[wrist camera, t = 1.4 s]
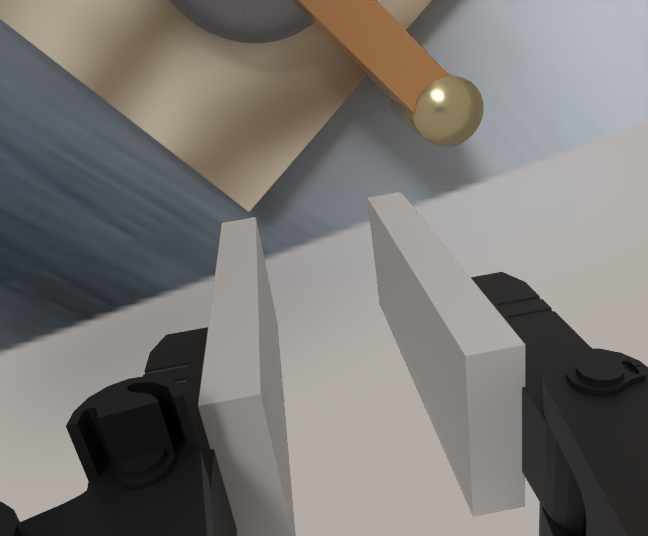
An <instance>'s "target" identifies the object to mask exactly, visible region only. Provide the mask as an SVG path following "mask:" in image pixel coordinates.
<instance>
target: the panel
mask: <svg viewBox="0 0 648 536" xmlns="http://www.w3.org/2000/svg"><path fill="white" fill-rule="evenodd" d="M377 1H378V2H379V3H380V4H381V5H382V6H383V7H384V8H385V9H386V10H387V11H388V12H389V13H390V14H391V15H392V16H393V17H394V18H395V19H396V21H397V22H398V23H399V24H400V25H401V26H402V27H403V28H404V29H405V30H407V28H408V27H409V26H410V25H411V24H412V23H413V22H414V20H415V19H416V18H417V17H418V16H419V15H420V13H421V12H422V11H423V10H424V9H425V8H426V6H427V5H428V4H429V3H430V2H431V1H432V0H377ZM0 19H1V20H2V21H3V22H5V23H6V24H7V25H9V26H10V27H11V28H12V29H14V30H15V31H16V32H18V33H19V34H20V35H21V36H23V37H24V38H25V39H27V40H28V41H29V42H30V43H32V44H33V45H34V46H36V47H37V48H38V49H39V50H41V51H42V52H43V53H45V54H46V55H47V56H48V57H50V58H51V59H52V60H54V61H55V62H56V63H58V64H59V65H60V66H61V67H63V68H64V69H65V70H67V71H68V72H69V73H70V74H72V75H73V76H74V77H76V78H77V79H78V80H79V81H81V82H82V83H83V84H85V85H86V86H87V87H88V88H90V89H91V90H92V91H94V92H95V93H96V94H97V95H99V96H100V97H101V98H103V99H104V100H105V101H107V102H108V103H109V104H110V105H112V106H113V107H114V108H116V109H117V110H118V111H119V112H121V113H122V114H123V115H125V116H126V117H127V118H128V119H130V120H131V121H132V122H134V123H135V124H136V125H137V126H139V127H140V128H141V129H143V130H144V131H145V132H146V133H148V134H149V135H150V136H152V137H153V138H154V139H156V140H157V141H158V142H159V143H161V144H162V145H163V146H165V147H166V148H167V149H168V150H170V151H171V152H172V153H174V154H175V155H176V156H177V157H179V158H180V159H181V160H183V161H184V162H185V163H186V164H188V165H189V166H190V167H192V168H193V169H194V170H195V171H197V172H198V173H199V174H201V175H202V176H203V177H205V178H206V179H207V180H208V181H210V182H211V183H212V184H214V185H215V186H216V187H217V188H219V189H220V190H221V191H223V192H224V193H225V194H226V195H228V196H229V197H230V198H232V199H233V200H234V201H235V202H237V203H238V204H239V205H241V206H242V207H243V208H244V209H246V210H247V211H248V212H250V210H251V209H252V208H253V207H254V206H255V205H256V203H257V202H258V201H259V200H260V199H261V198H262V197H263V195H264V194H265V193H266V192H267V191H268V190H269V188H270V187H271V186H272V185H273V184H274V183H275V181H276V180H277V179H278V178H279V177H280V176H281V175H282V173H283V172H284V171H285V170H286V169H287V168H288V166H289V165H290V164H291V163H292V162H293V161H294V159H295V158H296V157H297V156H298V155H299V154H300V152H301V151H302V150H303V149H304V148H305V147H306V146H307V144H308V143H309V142H310V141H311V140H312V139H313V137H314V136H315V135H316V134H317V133H318V132H319V130H320V129H321V128H322V127H323V126H324V125H325V124H326V122H327V121H328V120H329V119H330V118H331V117H332V115H333V114H334V113H335V112H336V111H337V110H338V108H339V107H340V106H341V105H342V104H343V103H344V102H345V100H346V99H347V98H348V97H349V96H350V95H351V93H352V92H353V91H354V90H355V89H356V88H357V86H358V85H359V84H360V83H361V82H362V81H363V79H364V78H365V77H366V76H367V75H366V74H365V73H364V72H363V71H362V70H361V69H360V68H359V67H358V66H357V65H356V64H355V63H354V62H352V61H351V60H350V59H349V58H348V57H347V56H346V55H345V54H344V53H343V52H342V51H341V50H340V49H339V48H338V47H337V46H336V45H335V44H334V43H333V42H332V41H331V40H330V39H329V38H328V37H327V36H326V35H325V34H324V33H322V32H321V31H320V30H319V29H318V28H317V27H316V26H315V25H314V24H312V25H311V26H309V27H308V28H306V29H305V30H303V31H301V32H300V33H297V34H295V35H293V36H291V37H288V38H285V39H282V40H278V41H274V42H267V43H243V42H236V41H232V40H228V39H225V38H221V37H219V36H216V35H214V34H212V33H209V32H207V31H206V30H204V29H202V28H201V27H199V26H197V25H196V24H194V23H193V22H192V21H190V20H189V19H188V18H186V17H185V16H184V15H183V14H182V13H181V12H180V11H179V10H178V9H177V8H176V7H175V6H174V5H173V4H172V3H171V2H170V1H169V0H0Z"/></svg>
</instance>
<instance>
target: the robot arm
mask: <svg viewBox="0 0 648 536" xmlns="http://www.w3.org/2000/svg"><path fill="white" fill-rule="evenodd" d="M368 206H369V215H370V223H371V231H372V240H373V249H374V258H375V266H376V275H377V284H378V293H379V301H380V305H381V308H382V310H383V312H384V315H385V317H386V319H387V321H388V324H389V326H390V328H391V331H392V333H393V335H394V337H395V339H396V342H397V344H398V346H399V349H400V351H401V353H402V356H403V358H404V360H405V362H406V365H407V367H408V369H409V372H410V374H411V376H412V378H413V381H414V383H415V385H416V388H417V390H418V392H419V394H420V397H421V399H422V401H423V404H424V406H425V408H426V410H427V413H428V415H429V417H430V420H431V422H432V424H433V426H434V429H435V431H436V433H437V435H438V438H439V440H440V442H441V445H442V447H443V449H444V451H445V454H446V456H447V458H448V461H449V463H450V465H451V467H452V470H453V472H454V474H455V477H456V479H457V481H458V483H459V486H460V488H461V490H462V492H463V495H464V497H465V499H466V501H467V504H468V506H469V508H470V511H471V513H472V515H473V517H474V516H480V515H485V514H490V513H494V512H499V511H504V510H509V509H514V508H519V507H524V506H525V477H526V479H527V481H528V482H529V484H530V486H531V487H532V489H533V491H534V493H535V494H536V496H537V498H538V499H539V501H540V519H539V536H648V367H647V366H645V365H644V364H643V363H642V362H640V361H639V360H636V359H634V358H631V357H629V356H627V355H624V354H622V353H619V352H613V351H609V350H604V349H592V348H591V347H590V346H589V345H588V344H587V343H586V342H585V341H584V340H583V339H582V338H581V337H580V336H579V335H578V334H577V333H576V332H575V331H574V330H573V329H572V328H571V327H570V326H569V325H568V324H567V323H566V322H565V321H564V320H563V319H562V318H560V316H559V315H558V314H557V313H556V312H554V311H553V312H552V310H551V307H550V306H549V305H548V304H547V303H546V302H544V300H543V299H540V297H539V295H538V294H537V293H536V292H535V291H533V289H532V288H531V287H530V286H529V285H528V284H527V283H526V282H524V281H522V280H519V279H517V278H515V277H512V276H510V275H508V274H506V273H503V272H499V273H493V274H488V275H482V276H477V277H472V278H470V276H469V275H468V274H467V273H466V271H465V270H464V269H463V268H462V267H461V265H460V264H459V263H458V262H457V260H456V259H455V258H454V257H453V256H452V254H451V253H450V252H449V251H448V249H447V248H446V247H445V246H444V244H443V243H442V242H441V241H440V240H439V238H438V237H437V236H436V235H435V233H434V232H433V231H432V230H431V229H430V227H429V226H428V225H427V224H426V222H425V221H424V220H423V219H422V218H421V216H420V215H419V214H418V213H417V211H416V210H415V209H414V208H413V207H412V205H411V204H410V203H409V202H408V200H407V199H406V198H405V197H404V196H403V194H402V193H401V192H397V193H392V194H386V195H380V196H374V197H369V198H368ZM66 427H67V430H68V432H69V435H70V437H71V439H72V442H73V444H74V447H75V449H76V451H77V454H78V457H79V459H80V461H81V464H82V466H83V468H84V471H85V473H86V476H87V478H88V481H89V483H88V488H87V491H85V492H84V493H83V494H81V495H80V496H78V497H76V498H74V499H72V500H70V501H68V502H66V503H64V504H62V505H59V506H57V507H55V508H52V509H50V510H48V511H46V512H43V513H41V514H38V515H36V516H34V517H31V518H29V519H27V520H24V521H22V522H20V521H19V519H18V518H17V515H16V513H15V511H14V510H13V509H12V508H10V507H9V506H7V505H5V504H4V503H2V502H0V536H295V524H294V513H293V501H292V490H291V478H290V466H289V455H288V443H287V432H286V420H285V408H284V396H283V385H282V374H281V363H280V350H279V339H278V327H277V319H276V315H275V310H274V305H273V300H272V295H271V290H270V285H269V280H268V275H267V270H266V265H265V260H264V255H263V250H262V245H261V240H260V236H259V231H258V226H257V221H256V217H253V218H248V219H242V220H236V221H230V222H224V223H222V226H221V234H220V242H219V249H218V257H217V265H216V272H215V280H214V288H213V296H212V303H211V311H210V319H209V327H207V328H202V329H196V330H191V331H185V332H180V333H174V334H168V335H166V336H165V337H164V338H163V339H162V340H161V341H160V342H159V343H158V345H157V346H156V347H155V348H154V349H153V350H152V351H151V352H150V354H149V358H148V361H147V365H146V368H145V375H143V377H137V378H131V379H127V380H124V381H121V382H119V383H116V384H113V385H110V386H108V387H106V388H104V389H103V390H101V391H99V392H97V393H96V394H94V395H92V396H91V397H89V398H88V399H87V400H86V401H84V402H83V403H82V404H81V405H80V406H79V407H78V408H77V409H76V410H75V411H74V412H73V414H72V416H71V418H70V420H69V421H68V423H67V425H66Z"/></svg>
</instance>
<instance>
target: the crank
mask: <svg viewBox="0 0 648 536" xmlns="http://www.w3.org/2000/svg"><path fill="white" fill-rule="evenodd" d="M169 1H170V2H171V3H172V4H173V5H174V6H175V7H176V8H177V9H178V10H179V11H180V12H181V13H182V14H183V15H184V16H185V17H186V18H188V19H189V20H190V21H192V22H193V23H194V24H196V25H197V26H199V27H201V28H202V29H204V30H206V31H207V32H209V33H212V34H214V35H216V36H219V37H221V38H225V39H228V40H232V41H236V42H243V43H267V42H274V41H278V40H282V39H285V38H288V37H291V36H293V35H295V34H297V33H300V32H301V31H303V30H305V29H306V28H308V27H309V26H311V25H312V24H314V25H315V26H316V27H317V28H318V29H319V30H320V31H321V32H322V33H324V34H325V35H326V36H327V37H328V38H329V39H330V40H331V41H332V42H333V43H334V44H335V45H336V46H337V47H338V48H339V49H340V50H341V51H342V52H343V53H344V54H345V55H346V56H347V57H348V58H349V59H350V60H351V61H352V62H354V63H355V64H356V65H357V66H358V67H359V68H360V69H361V70H362V71H363V72H364V73H365V74H366V75H367V76H368V77H369V78H370V79H371V80H372V81H373V82H374V83H375V84H376V85H377V86H378V87H379V88H380V89H381V90H383V91H384V92H385V93H386V94H387V95H388V96H389V97H390V99H391V106H392V108H393V111H394V113H395V114H396V115H397V116H398V118H400V119H401V120H402V121H403V122H405V123H406V124H407V125H409V126H410V127H411V128H413V129H414V130H415V131H417V132H418V133H419V134H421V135H422V136H424V137H425V138H426V139H428V140H429V141H430V142H432V143H434V144H436V145H440V146H454V145H457V144H460V143H462V142H464V141H465V140H467V139H468V138H469V137H470V136H472V135H473V133H474V132H475V131H476V129H477V128H478V126H479V124H480V122H481V119H482V115H483V100H482V97H481V94H480V92H479V91H478V89H477V88H476V87H475V85H474V84H472V83H471V82H470V81H468V80H466V79H464V78H461V77H458V76H455V75H452V74H449V73H447V72H446V71H445V70H444V69H443V68H442V67H441V66H440V65H439V64H438V63H437V62H436V61H435V60H434V59H433V58H432V57H431V56H430V55H429V54H428V53H427V52H426V51H425V50H424V49H423V47H422V46H421V45H420V44H419V43H418V42H417V41H416V40H415V39H414V38H413V37H412V36H411V35H410V34H409V33H408V32H407V31H406V30H405V29H404V28H403V27H402V26H401V25H400V24H399V23H398V22H397V21H396V19H395V18H394V17H393V16H392V15H391V14H390V13H389V12H388V11H387V10H386V9H385V8H384V7H383V6H382V5H381V4H380V3H379V2H378V1H377V0H169Z"/></svg>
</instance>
